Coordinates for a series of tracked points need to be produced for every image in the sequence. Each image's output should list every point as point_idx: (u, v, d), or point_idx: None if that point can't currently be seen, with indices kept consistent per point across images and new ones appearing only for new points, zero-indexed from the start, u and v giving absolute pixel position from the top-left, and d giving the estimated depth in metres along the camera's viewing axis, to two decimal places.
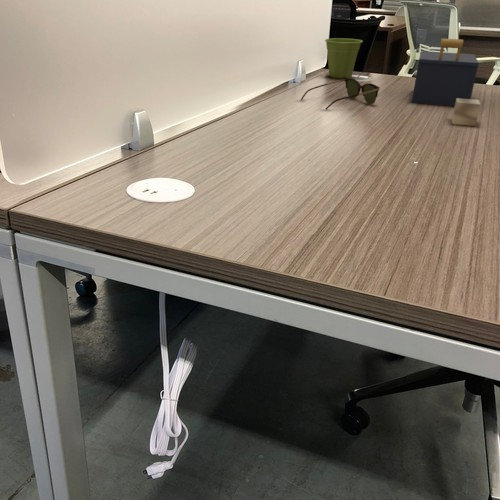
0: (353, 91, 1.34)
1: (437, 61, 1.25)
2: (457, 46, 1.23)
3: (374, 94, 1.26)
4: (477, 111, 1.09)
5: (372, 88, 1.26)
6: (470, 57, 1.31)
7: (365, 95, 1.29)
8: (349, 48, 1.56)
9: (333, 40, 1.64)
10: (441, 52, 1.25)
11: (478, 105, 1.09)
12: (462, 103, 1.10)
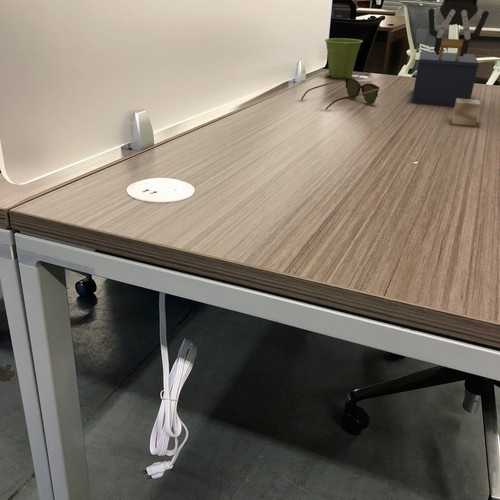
0: (353, 91, 1.34)
1: (437, 61, 1.25)
2: (457, 46, 1.23)
3: (374, 94, 1.26)
4: (477, 111, 1.09)
5: (372, 88, 1.26)
6: (470, 57, 1.31)
7: (365, 95, 1.29)
8: (349, 48, 1.56)
9: (333, 40, 1.64)
10: (441, 52, 1.25)
11: (478, 105, 1.09)
12: (462, 103, 1.10)
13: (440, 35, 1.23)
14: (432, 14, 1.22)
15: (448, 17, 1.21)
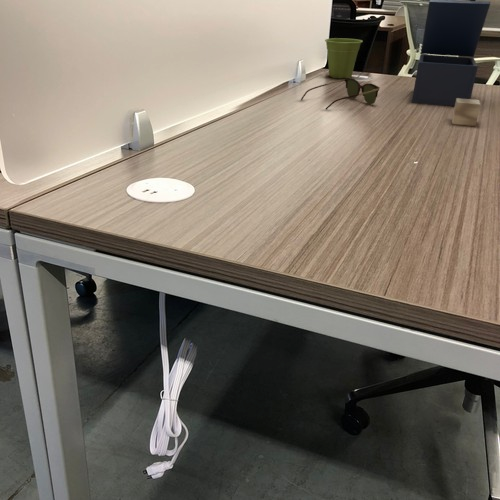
0: (353, 91, 1.34)
1: (448, 0, 1.23)
2: None
3: (374, 94, 1.26)
4: (477, 111, 1.09)
5: (372, 88, 1.26)
6: None
7: (365, 95, 1.29)
8: (349, 48, 1.56)
9: (333, 40, 1.64)
10: None
11: (478, 105, 1.09)
12: (462, 103, 1.10)
13: None
14: None
15: None
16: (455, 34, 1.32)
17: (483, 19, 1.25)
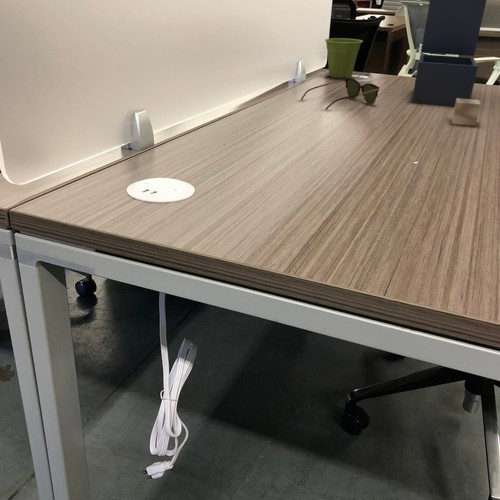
0: (353, 91, 1.34)
1: None
2: None
3: (374, 94, 1.26)
4: (477, 111, 1.09)
5: (372, 88, 1.26)
6: None
7: (365, 95, 1.29)
8: (349, 48, 1.56)
9: (333, 40, 1.64)
10: None
11: (478, 105, 1.09)
12: (462, 103, 1.10)
13: None
14: None
15: None
16: (457, 22, 1.35)
17: None
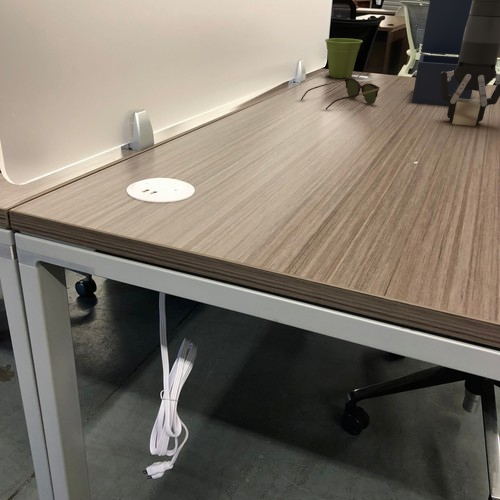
0: (353, 91, 1.34)
1: None
2: None
3: (374, 94, 1.26)
4: (477, 111, 1.09)
5: (372, 88, 1.26)
6: None
7: (365, 95, 1.29)
8: (349, 48, 1.56)
9: (333, 40, 1.64)
10: None
11: (478, 105, 1.09)
12: (462, 103, 1.10)
13: (454, 100, 1.11)
14: (445, 78, 1.09)
15: (463, 82, 1.08)
16: (457, 22, 1.35)
17: None
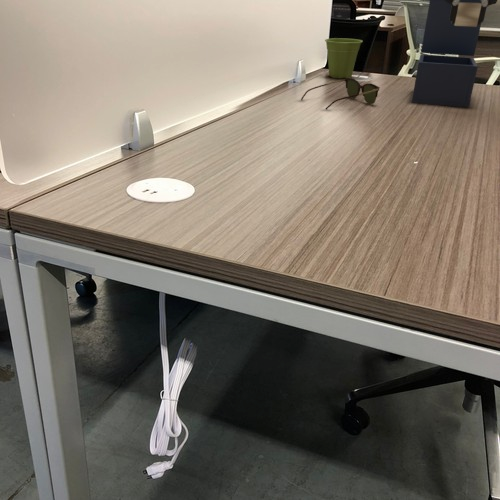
0: (353, 91, 1.34)
1: None
2: None
3: (374, 94, 1.26)
4: (478, 11, 1.14)
5: (372, 88, 1.26)
6: None
7: (365, 95, 1.29)
8: (349, 48, 1.56)
9: (333, 40, 1.64)
10: None
11: (479, 5, 1.14)
12: (464, 3, 1.14)
13: (456, 2, 1.16)
14: None
15: None
16: None
17: None
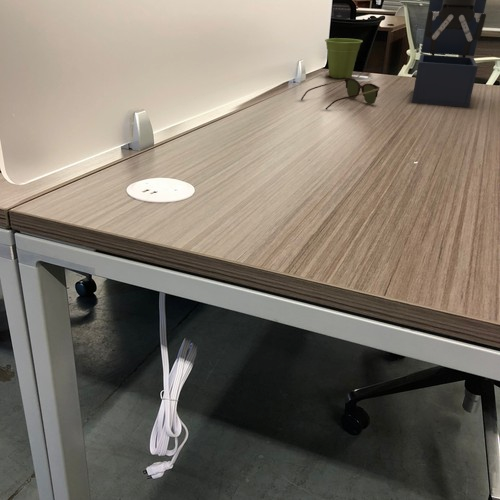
0: (353, 91, 1.34)
1: None
2: None
3: (374, 94, 1.26)
4: None
5: (372, 88, 1.26)
6: (475, 22, 1.35)
7: (365, 95, 1.29)
8: (349, 48, 1.56)
9: (333, 40, 1.64)
10: None
11: None
12: None
13: (435, 37, 1.29)
14: (431, 16, 1.28)
15: (446, 21, 1.27)
16: None
17: None
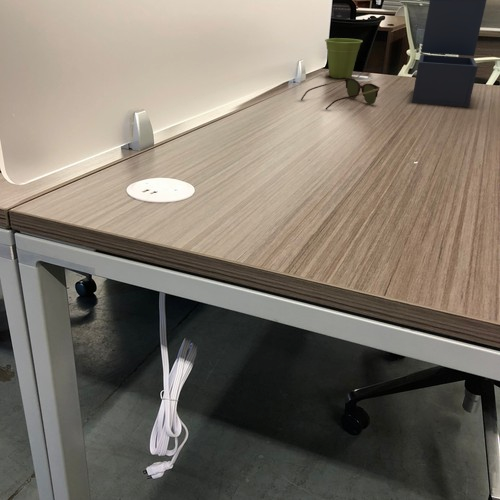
0: (353, 91, 1.34)
1: None
2: None
3: (374, 94, 1.26)
4: None
5: (372, 88, 1.26)
6: None
7: (365, 95, 1.29)
8: (349, 48, 1.56)
9: (333, 40, 1.64)
10: None
11: None
12: None
13: None
14: None
15: None
16: (457, 22, 1.35)
17: None
